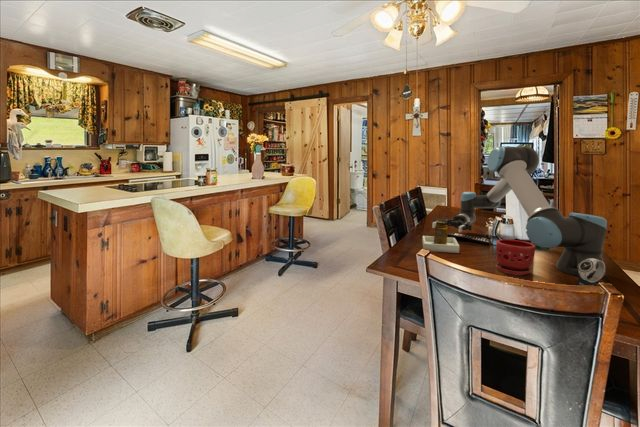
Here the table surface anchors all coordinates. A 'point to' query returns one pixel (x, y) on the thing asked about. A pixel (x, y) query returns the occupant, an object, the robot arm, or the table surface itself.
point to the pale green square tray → (440, 245)
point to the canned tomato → (541, 248)
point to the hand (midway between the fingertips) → (445, 227)
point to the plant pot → (514, 256)
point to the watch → (590, 271)
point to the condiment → (440, 233)
